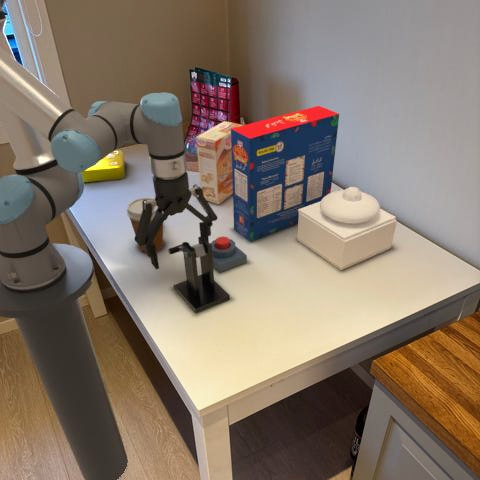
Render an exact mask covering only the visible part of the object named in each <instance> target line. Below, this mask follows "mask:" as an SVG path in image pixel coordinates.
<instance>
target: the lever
mask: <svg viewBox="0 0 480 480" xmlns="http://www.w3.org/2000/svg"><path fill="white" fill-rule="evenodd" d="M186 242H187V241H186ZM187 243H188V244H189V245H190V243H189V242H187ZM190 246H191V247H192V248H193V249H194V250H195V251H196V259H200V257H201V256H204V255H206V254H205V250H204V246H203V244H199V243H196V244H193V245H190ZM167 252H168V254H169V255H174V254H176V253H179V252H181V253H183V247H182V243H181V244H178V245H176V246H173V247H169V248H168V249H167Z"/></svg>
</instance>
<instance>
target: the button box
mask: <svg viewBox="0 0 480 480" xmlns="http://www.w3.org/2000/svg"><path fill="white" fill-rule="evenodd" d="M215 240H216V239H214V240H212V241H211V242H209V243H210V244H211V245H212V256H213V268H214V269H216V270H217V272H219V273H222V272H225V271H227V270H231V269H233V268H235V267H238V266H240V265H243V264H246V263H247V262H248V260H247V259H248V258H247V257H248V256H247V254H246V253H245V252H244V251H242V250H241V249H240V248H239V247H238V246H237V245H236V242H235V241H234V240H233V239H230V238H229V240H230V247H229V248H228V249H224V250H220V249H217V248H216V245H215Z"/></svg>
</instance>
